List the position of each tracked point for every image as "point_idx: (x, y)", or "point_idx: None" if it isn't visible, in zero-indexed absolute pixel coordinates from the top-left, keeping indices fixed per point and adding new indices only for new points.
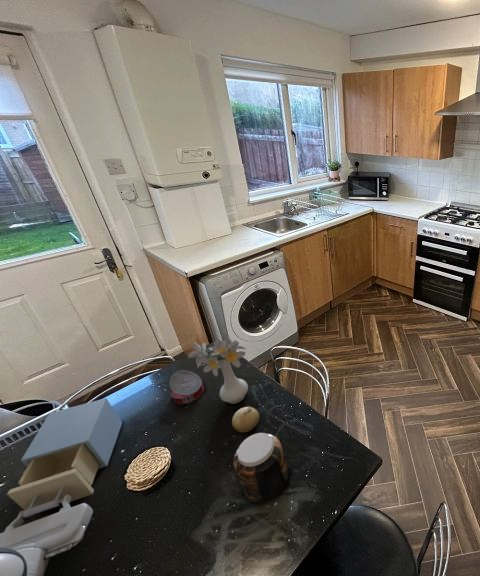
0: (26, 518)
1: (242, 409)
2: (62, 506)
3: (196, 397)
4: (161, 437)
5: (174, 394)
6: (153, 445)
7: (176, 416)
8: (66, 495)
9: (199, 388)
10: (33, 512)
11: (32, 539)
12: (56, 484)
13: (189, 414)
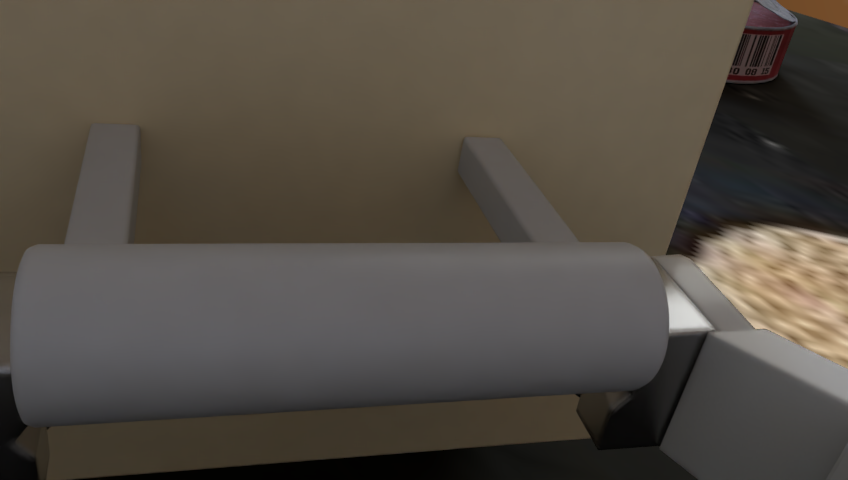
0: (8, 471)
1: None
2: (623, 438)
3: (777, 68)
4: (769, 188)
5: None
6: (763, 216)
7: (739, 118)
8: (672, 257)
9: (796, 19)
10: (256, 345)
11: None
12: (470, 37)
13: (821, 129)
